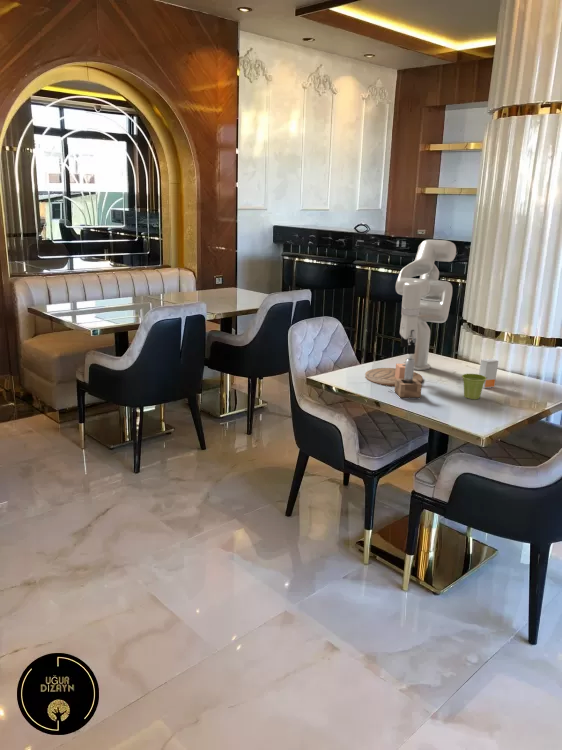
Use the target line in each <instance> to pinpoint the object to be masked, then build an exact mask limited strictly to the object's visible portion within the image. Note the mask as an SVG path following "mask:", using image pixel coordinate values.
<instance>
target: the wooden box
mask: <svg viewBox="0 0 562 750" xmlns="http://www.w3.org/2000/svg"><path fill="white" fill-rule="evenodd" d="M422 386H423V385H422V383H419V382H418V381H417V380H416V379H413V383H404V379H395V387H394V391H395V392H394V393H395V395H396V394H397V395H398V396H399V397H400V398H420V399H421V397H422ZM397 395H396V396H397ZM398 396H397V397H398ZM399 397H398V398H399ZM400 398H399V399H400Z"/></svg>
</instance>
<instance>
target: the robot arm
mask: <svg viewBox="0 0 562 750" xmlns="http://www.w3.org/2000/svg"><path fill="white" fill-rule="evenodd" d="M456 255H457V246H456V244H455V243H454V242H452V241H450V240H445V239H425V240H423V241H422V242H421V243H420V244H419V245H418V247H417V252H416V255H415V259H414V261H412V262H410V263H408V264H407V265H405V266H404V267H402V269H401V270H400V271H399V273H398V277H397V279H396V282H395V292H396V293H397V294H398V295H400V296H402V298H401V299H402V301H401V313H400V314H401V318H400V324H399V325H400V327H399V335H400V337H401V339H400V347H401V348H407V349H406V354H407V356H406V359H414V360H415V361H414V371H424V370H425V371H426V370H429V369H431V364H430V363H428V361H429V360H428V359H429V349H430V339H431V329H430V326H429V325H428V323H427V322H429V323H439V324H442V323H445V322H446V321H447V320H448V317H449V312H450V306H451V304H452V303H451V302H452V297H453V284H452V283H451V282H449V281H448V280H447V281H446V280H439V278H440V271H439V269H438V267H437V265H436V264H435V262H436V261H437V262H448V263H450V262H453V261H454V259H455V258H456ZM418 276H419V278H416V277H418ZM414 277H415V278H414ZM402 364H406V361H404V362H403V363H402Z"/></svg>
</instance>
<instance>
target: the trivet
mask: <svg viewBox="0 0 562 750" xmlns="http://www.w3.org/2000/svg"><path fill="white" fill-rule="evenodd" d="M395 371H396V367H381V368H373V369H370V370H367V371H365V374H364V375H365V377H364V378H365V379H366V380H367V381H369V382H371V383H373V384H376V385H380V384H381V385H380V386H384V385H387V386H386V387H392V386H395V379H397V378H396V377H395ZM413 379H416V380H417V381H418V382H419V383H421V384H422V382H424V381H423V379H424V378H423V376H422V375H421V374H419V373H418V372H415V371H414V372H413Z"/></svg>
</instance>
